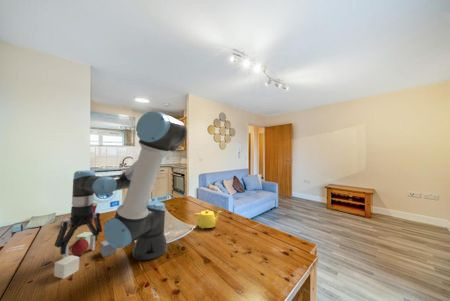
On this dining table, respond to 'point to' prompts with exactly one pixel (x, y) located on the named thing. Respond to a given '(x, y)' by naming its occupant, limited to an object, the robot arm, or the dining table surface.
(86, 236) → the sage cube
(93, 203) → the plastic cup
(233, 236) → the dining table surface
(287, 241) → the dining table surface
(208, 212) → the teapot
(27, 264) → the dining table surface
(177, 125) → the robot arm
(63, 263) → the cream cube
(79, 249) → the onion
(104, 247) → the slate cube
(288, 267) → the dining table surface
